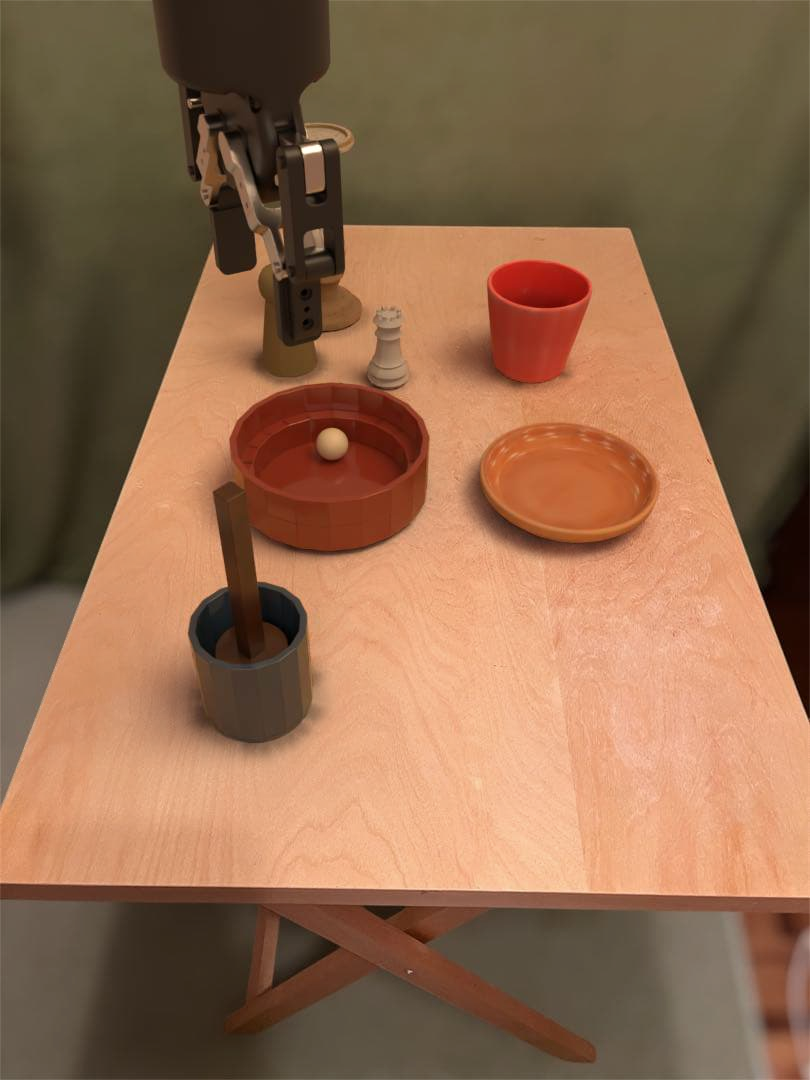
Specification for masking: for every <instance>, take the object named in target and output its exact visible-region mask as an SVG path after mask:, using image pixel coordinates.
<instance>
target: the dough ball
mask: <svg viewBox="0 0 810 1080" xmlns="http://www.w3.org/2000/svg"><path fill="white" fill-rule="evenodd" d="M316 448H317V451H318V452H319V454H320V455H321V456H322V457H323V458H325V459H328V460H337V459H339V458H341V457H343V456H344V455H345V453H346V452H347V449H348V439H347V437H346V435H345V434H344V433H343V432H342V431H341V430H339V429H336V428H328V429H325V430H323V431H322V432H321V433H320V434H319V435H318V437H317V440H316Z"/></svg>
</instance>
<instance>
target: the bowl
mask: <svg viewBox="0 0 810 1080" xmlns="http://www.w3.org/2000/svg"><path fill="white" fill-rule="evenodd" d="M328 428H336V429H339V430H341V431H342V432H343V433H344V434H345V435H346V437H347V439H348V449H347V452H346V453H345V455H344V456H343V457H341V458H339V459H337V460H328V459H325V458H323V457H322V456H321V455H320V454H319V452H318V451H317V448H316V440H317V437H318V435H319V434H320V433H321V432H322V431H323V430H325V429H328ZM228 440H229V441H228V442H229V450H230V451H229V452H230V460H231V466H232V472H233V473H232V474H233V482H234V483H235V484H236V485H238V486H239V487H241V488H242V489H244V490H245V491H246V497H247V504H248V512H249V520H250V526H252V527H254V528H255V529H257V530H258V531H259V532H261V533H262V534H264V535H265V536H267V537H268V538H269V539H271V540H273V541H277V542H279V543H282V544H285V545H289V546H292V547H294V548H296V549H304V550H305V549H306V550H315V551H325V552H326V551H327V552H335V551H342V550H349V549H357V548H362V547H363V548H365V547H366V546H369V545H372V544H375V543H378V542H380V541H382V540H385V539H388V538H390V537H392V536H394V535H395V534H396V533H398V532H400V531H401V530H402V529H404V528H405V527H406V526H408V525H409V524H410V523H412V522H413V521H414V519H415V518H416V517H417V515H418V513H419V512H420V510H421V509H422V507H423V506H424V504H425V502H426V495H427V491H428V490H427V489H428V481H429V480H428V477H429V476H428V475H429V459H430V440H431V439H430V433H429V431H428V429H427V425H426V423H425V421H424V419H423V417H422V416H421V415H420V414H419V413H418V412H417V411H416V410H415V409H414V408H413V407H412V406H411V405H410V404H409V403H408V402H406V401H404V400H402V399H400V398H398V397H397V396H395V395H393V394H391V393H389V392H387V391H384V390H380V389H378V388H374V387H370V386H367V385H363V384H356V383H343V382H320V383H310V384H309V383H308V384H301V385H297V386H295V387H294V386H293V387H291V388H287V389H284V390H281V391H280V390H279V391H277V392H275V393H272V394H270V395H268V396H266V397H265V398H263V399H261V400H259V401H258V402H255V403H253V404H252V405H251V406H250V407H249V408H248V409H247V410H246V411H245V412H243V414H242V415H241V416H240V417H239V418H237V420H236V422H235V425H234V427H233V429H232V431H231V434H230V436H229V438H228Z"/></svg>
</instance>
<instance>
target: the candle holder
mask: <svg viewBox="0 0 810 1080" xmlns="http://www.w3.org/2000/svg"><path fill="white" fill-rule="evenodd" d="M304 125H305V128H306V131H307V134H308V138H309V140H311V141H312V140H323V139H329V138H333V139H334V140H335V141H336V143H337V145H338V148H339V153H340V155H342V154H345V153H347V152H349V151H351V149H353V147H354V146H355V136H354V134H353V132H352V131H351V130H350V129H348V128H347V127H345V126H342V125H339V124H335V123H329V122H306V123H305V122H304ZM320 232H321V236H322V239H323V242H324V237H323V228H321V229H320ZM304 248H306V246H305V243H304ZM344 252H345V255H346V254H347V245H346V240H345V239H344ZM344 275H345V272H344V273H343V274H339V275H335V276H329V277H324V278H320V279H321V304H322V329H323V330H322V332H330V331H338V330H342V329H345V328H348V327H350V326H352V325H354V324H355V323H356V322H358V320H359V319H360V318H361V316H362V311H363V307H362V305H363V304H362V302H361V300H360V299H359V298H358V297H357V296H356V295H355V294H354V293H352V292H351V291H350V290H349V289H348V288H346V287H344V286H342V285H339V284H340V282H341V280H342V279H343V277H344ZM353 294H354V295H353Z"/></svg>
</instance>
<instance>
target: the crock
mask: <svg viewBox="0 0 810 1080" xmlns="http://www.w3.org/2000/svg"><path fill="white" fill-rule="evenodd" d="M257 583H258V591H259V599H260V607H261V615H262V622H266V623H269V624H272V625H274V626H276V627H277V628H279V629H280V630H281V631H282V632H283V633H284V634H285V636H286V638H287V640H288V646H289V647H287V648H286V649H285V650H283V651H282V652H281V653H279V654H278V655H277V656H275V657H273V658H270V659H267V660H264V661H261V662H258V663H255V664H232V663H228V662H225V661H222V660H219V659H216V658H215V647H216V644H217V642H218V640H219V638H220V637H221V636H222V635H223V634H224V633H225V632H226V631H227V630H228V629H230V628H231V627H233V626H234V622H233V616H232V610H231V604H230V597H229V591H228V586H224V587H221V588H219V589H217V590H216V591H214V592H213V593H211V594H210V595H208V596H206V597H205V598H204V599H203V600H201V602H200V603H199V604H198V605H197V607H196V608H195V609H194V611H193V612H192V614H191V616H190V619H189V624H188V630H187V637H188V642H189V646H190V651H191V657H192V660H193V665H194V670H195V675H196V679H197V684H198V689H199V693H200V698H201V703H202V706H203V709H204V712H205V716H206V718H207V720H208V721H209V723H210V724H211V726H212V727H213V728H214V729H215V730H216V731H217V732H219V733H220V734H222V735H223V736H225V737H227V738H229V739H232V740H234V741H238V742H244V743H263V742H268V741H272V740H275V739H278V738H281V737H283V736H285V735H287V734H289V733H290V732H291V731H293V730H294V729H296V728H297V727H298V726H299V725H300V724H301V723H302V722H303V720H305V718H306V716H307V715H308V713H309V711H310V709H311V706H312V703H313V697H314V696H313V695H314V694H313V686H314V685H313V684H314V683H313V672H312V671H313V670H312V658H311V657H312V656H311V644H310V631H309V630H310V629H309V618H308V617H309V616H308V612H307V610H306V608H305V607H304V605H303V602H302V601H301V599H300V598H299V597H297V596H296V595H295V594H293V592H291V591H289V590H288V589H287V588H286V587H284V586H279V585H276V584H272V583H269V582H266V581H257Z"/></svg>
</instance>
